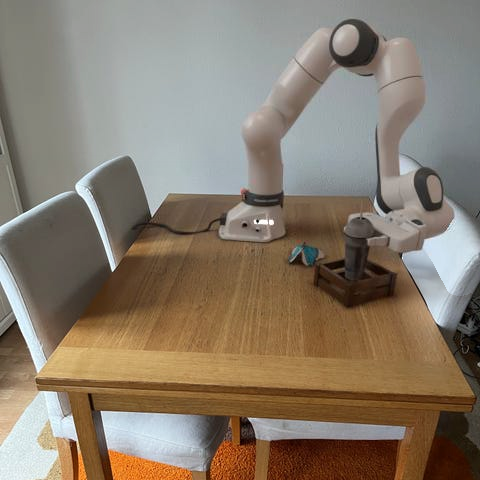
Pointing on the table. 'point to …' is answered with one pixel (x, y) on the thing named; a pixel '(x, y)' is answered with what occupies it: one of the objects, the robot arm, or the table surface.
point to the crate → (381, 282)
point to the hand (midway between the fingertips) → (356, 236)
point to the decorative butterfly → (307, 254)
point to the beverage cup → (357, 246)
